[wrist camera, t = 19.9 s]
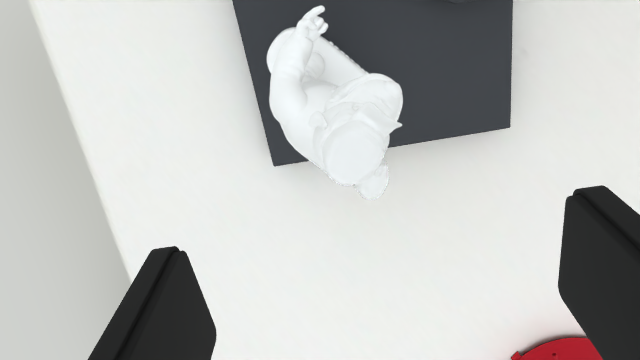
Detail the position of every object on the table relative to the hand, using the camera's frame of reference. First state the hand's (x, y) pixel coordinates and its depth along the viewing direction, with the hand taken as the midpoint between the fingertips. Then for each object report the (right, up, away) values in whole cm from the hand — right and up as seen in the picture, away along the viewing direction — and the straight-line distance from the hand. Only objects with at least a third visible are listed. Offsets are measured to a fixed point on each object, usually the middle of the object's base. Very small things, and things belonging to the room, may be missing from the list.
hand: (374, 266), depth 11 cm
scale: (+2, +11, +17) cm, 20 cm away
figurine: (0, +8, +17) cm, 19 cm away
